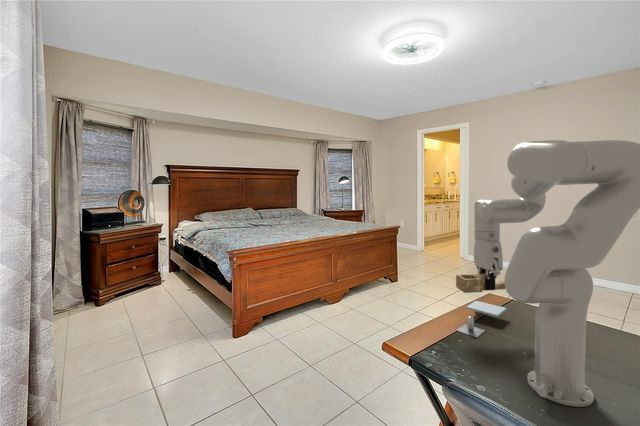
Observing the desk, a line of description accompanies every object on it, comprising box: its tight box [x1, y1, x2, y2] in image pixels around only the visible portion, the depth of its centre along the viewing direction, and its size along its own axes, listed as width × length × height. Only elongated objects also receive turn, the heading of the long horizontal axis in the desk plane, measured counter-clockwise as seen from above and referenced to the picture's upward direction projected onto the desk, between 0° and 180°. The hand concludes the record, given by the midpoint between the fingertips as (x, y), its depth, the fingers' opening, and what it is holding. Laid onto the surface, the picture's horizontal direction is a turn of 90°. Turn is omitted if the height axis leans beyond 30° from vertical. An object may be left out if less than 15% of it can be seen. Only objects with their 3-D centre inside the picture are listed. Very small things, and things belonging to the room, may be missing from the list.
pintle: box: [455, 315, 486, 338], centre depth 103 cm, size 7×7×5 cm
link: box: [455, 273, 506, 294], centre depth 102 cm, size 18×6×5 cm, turn 91°
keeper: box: [465, 300, 507, 318], centre depth 113 cm, size 9×11×4 cm
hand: (486, 287), depth 102 cm, fingers closed on link, 3 cm apart
